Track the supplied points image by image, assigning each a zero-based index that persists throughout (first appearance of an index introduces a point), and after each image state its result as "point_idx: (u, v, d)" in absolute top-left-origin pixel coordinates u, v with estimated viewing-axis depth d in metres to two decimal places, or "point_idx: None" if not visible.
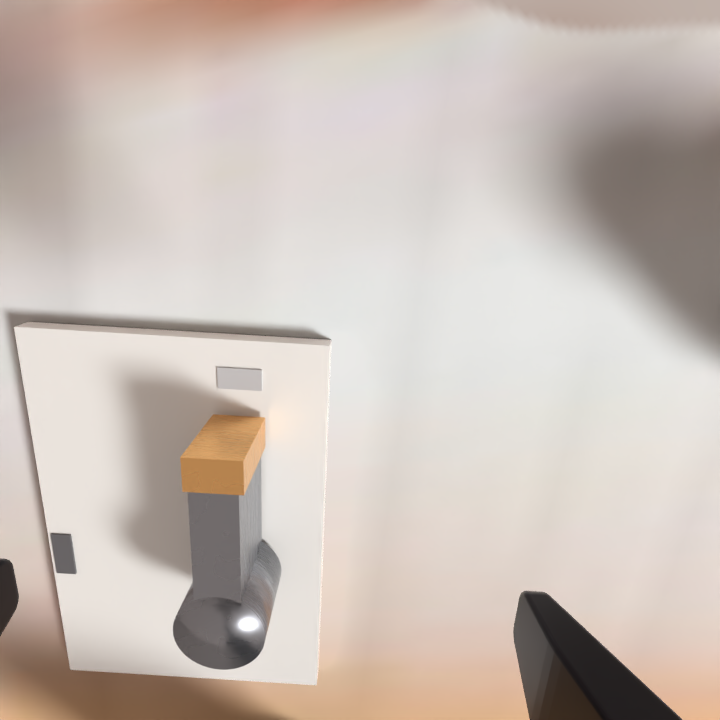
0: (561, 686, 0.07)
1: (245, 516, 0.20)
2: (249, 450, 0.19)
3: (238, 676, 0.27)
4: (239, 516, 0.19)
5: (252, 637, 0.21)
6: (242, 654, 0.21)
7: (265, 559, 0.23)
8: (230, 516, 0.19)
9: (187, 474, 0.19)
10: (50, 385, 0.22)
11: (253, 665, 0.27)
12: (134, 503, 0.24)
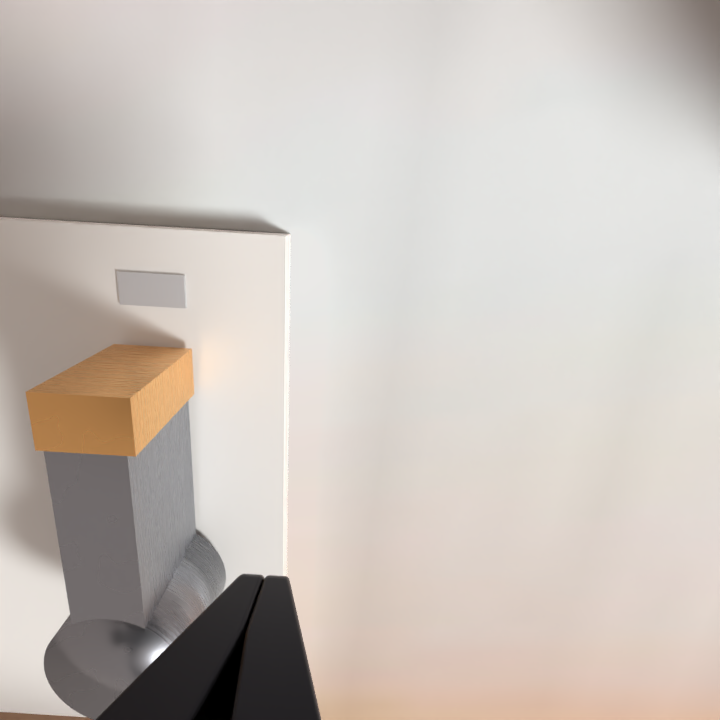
0: None
1: (150, 493, 0.13)
2: (148, 385, 0.12)
3: None
4: (132, 492, 0.12)
5: None
6: None
7: (198, 560, 0.16)
8: (117, 490, 0.12)
9: (39, 421, 0.11)
10: None
11: None
12: (13, 479, 0.17)
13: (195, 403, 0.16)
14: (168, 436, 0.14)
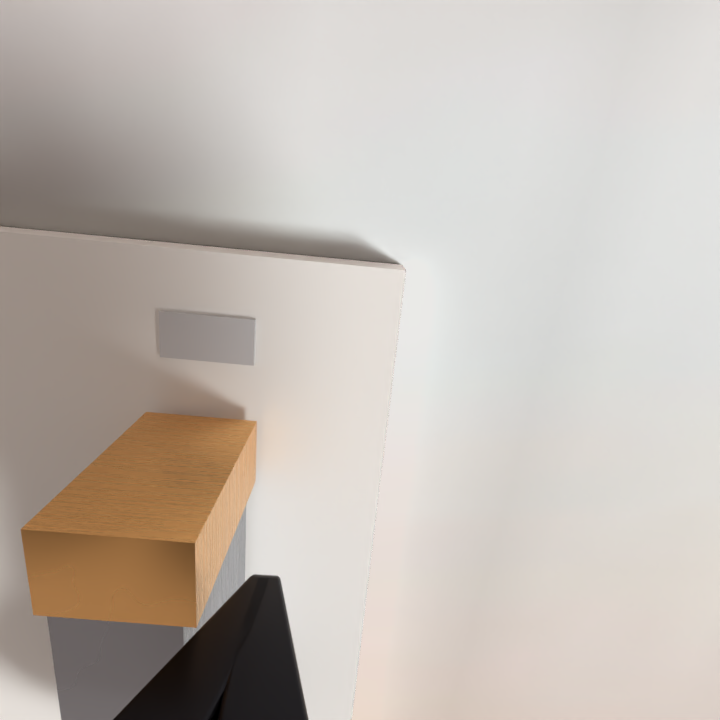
0: None
1: None
2: (215, 506, 0.08)
3: None
4: None
5: None
6: None
7: None
8: None
9: (43, 572, 0.07)
10: None
11: None
12: None
13: (255, 491, 0.11)
14: (226, 555, 0.10)
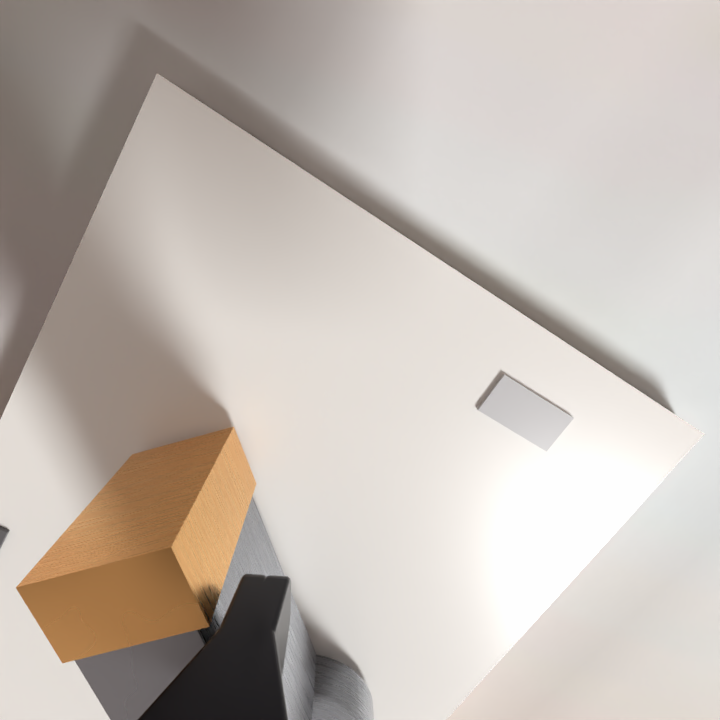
0: None
1: None
2: (193, 510, 0.08)
3: None
4: None
5: None
6: None
7: (332, 693, 0.12)
8: None
9: (52, 621, 0.07)
10: (158, 238, 0.10)
11: None
12: None
13: (470, 548, 0.12)
14: (243, 558, 0.10)
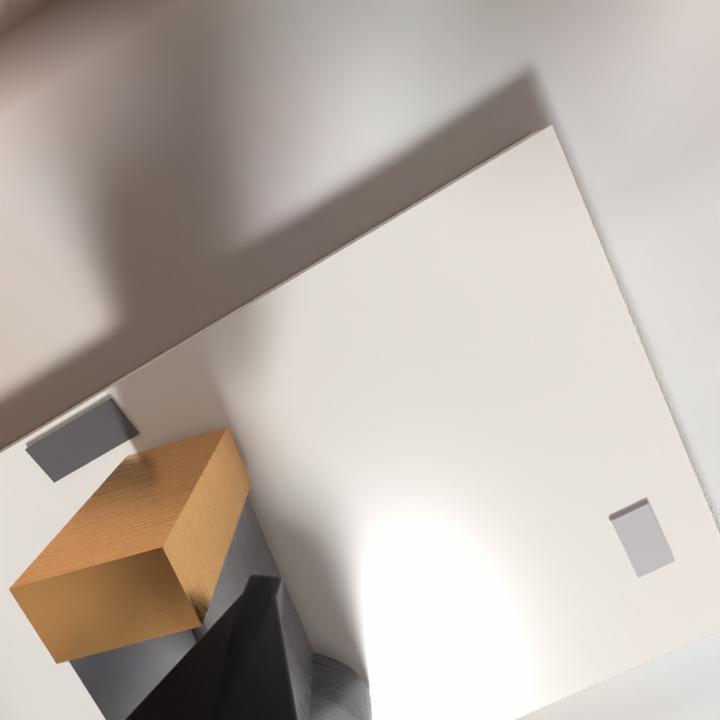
0: None
1: None
2: (185, 510, 0.08)
3: None
4: None
5: None
6: None
7: (329, 691, 0.12)
8: None
9: (46, 622, 0.07)
10: (457, 253, 0.10)
11: None
12: (296, 504, 0.12)
13: (528, 627, 0.13)
14: (238, 557, 0.10)
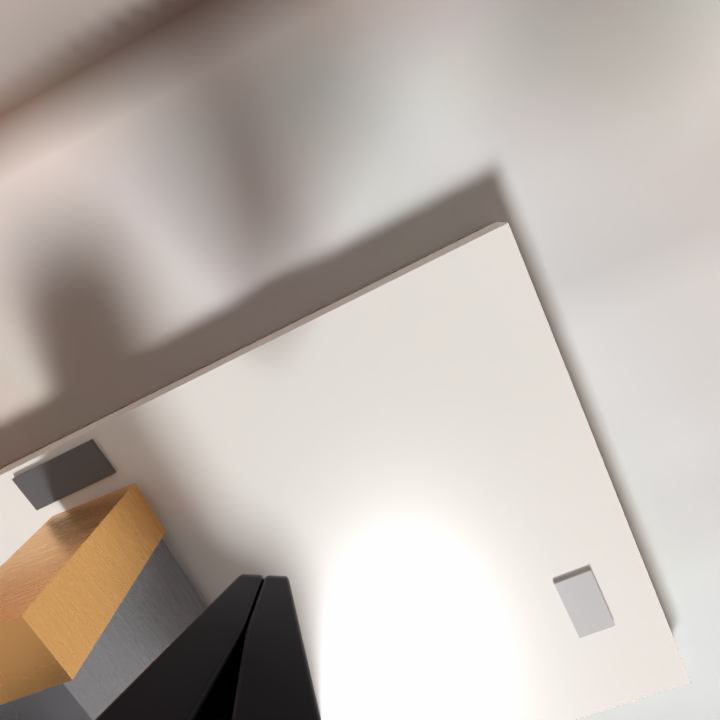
0: None
1: None
2: (59, 575, 0.09)
3: None
4: None
5: None
6: None
7: None
8: None
9: None
10: (416, 332, 0.11)
11: None
12: (257, 546, 0.13)
13: (472, 675, 0.14)
14: (143, 605, 0.11)
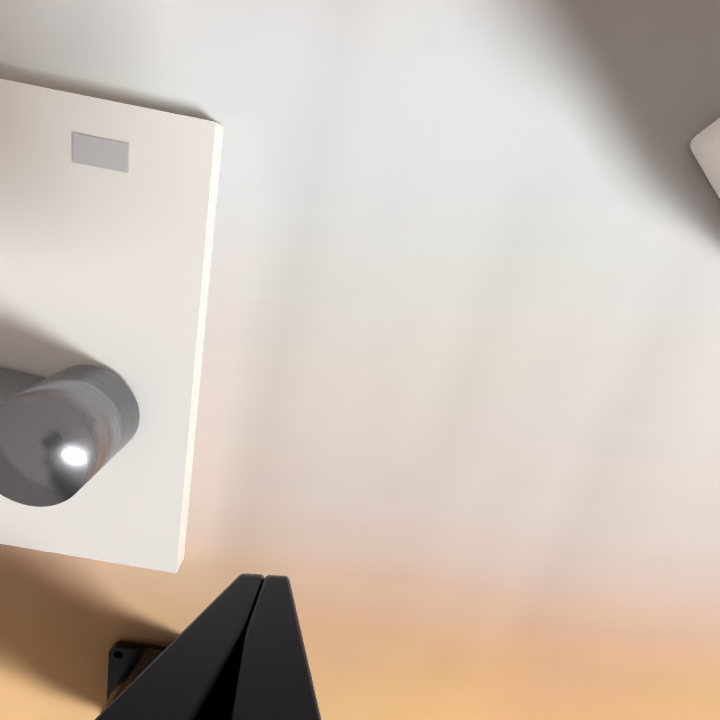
0: None
1: None
2: None
3: (83, 553, 0.23)
4: None
5: (31, 419, 0.16)
6: (60, 437, 0.16)
7: None
8: None
9: None
10: None
11: (102, 540, 0.23)
12: None
13: (128, 259, 0.19)
14: None
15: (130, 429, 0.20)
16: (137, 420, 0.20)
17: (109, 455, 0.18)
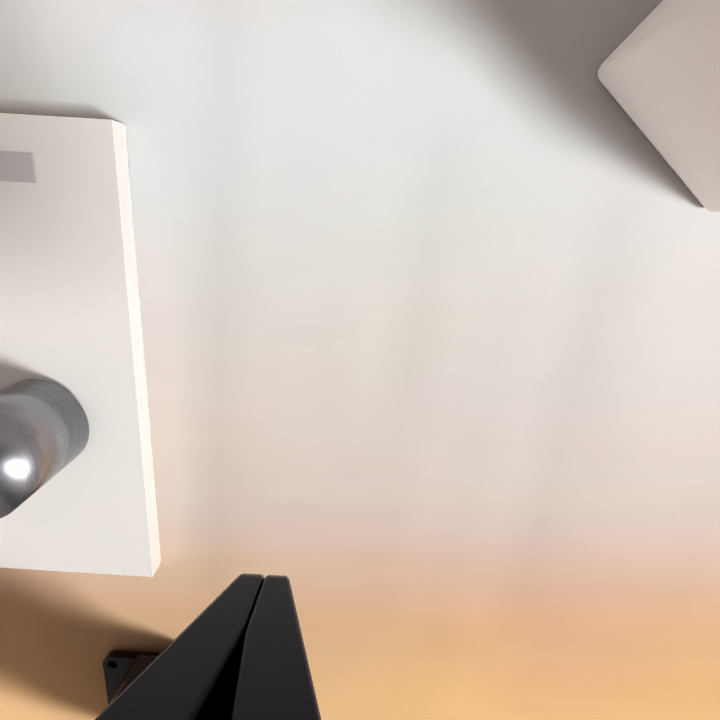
0: None
1: None
2: None
3: (60, 566, 0.23)
4: None
5: None
6: None
7: None
8: None
9: None
10: None
11: (75, 552, 0.23)
12: None
13: (51, 269, 0.19)
14: None
15: (78, 437, 0.20)
16: (86, 428, 0.20)
17: (56, 464, 0.19)
